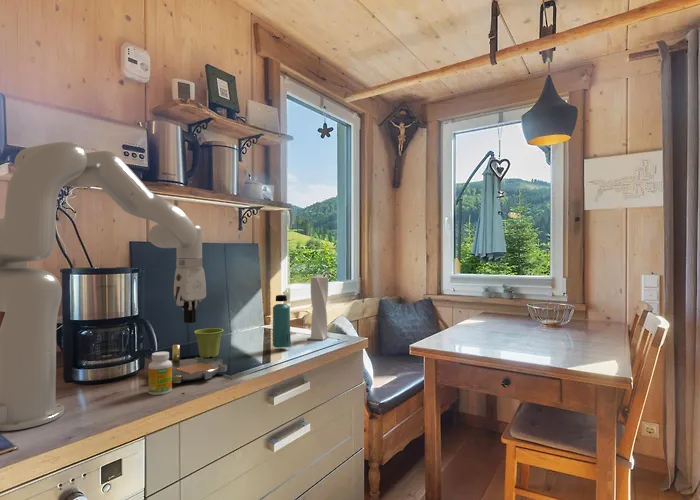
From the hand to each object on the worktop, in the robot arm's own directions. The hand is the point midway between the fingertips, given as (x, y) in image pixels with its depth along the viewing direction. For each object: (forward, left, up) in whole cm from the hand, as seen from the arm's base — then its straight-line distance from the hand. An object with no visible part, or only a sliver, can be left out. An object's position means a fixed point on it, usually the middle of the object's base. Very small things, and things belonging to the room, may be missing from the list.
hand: (189, 322), depth 128 cm
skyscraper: (+55, -3, -14) cm, 57 cm away
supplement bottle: (-18, -18, -14) cm, 28 cm away
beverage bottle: (+32, -6, -14) cm, 36 cm away
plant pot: (+10, +6, -14) cm, 18 cm away
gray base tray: (-6, -10, -12) cm, 17 cm away
